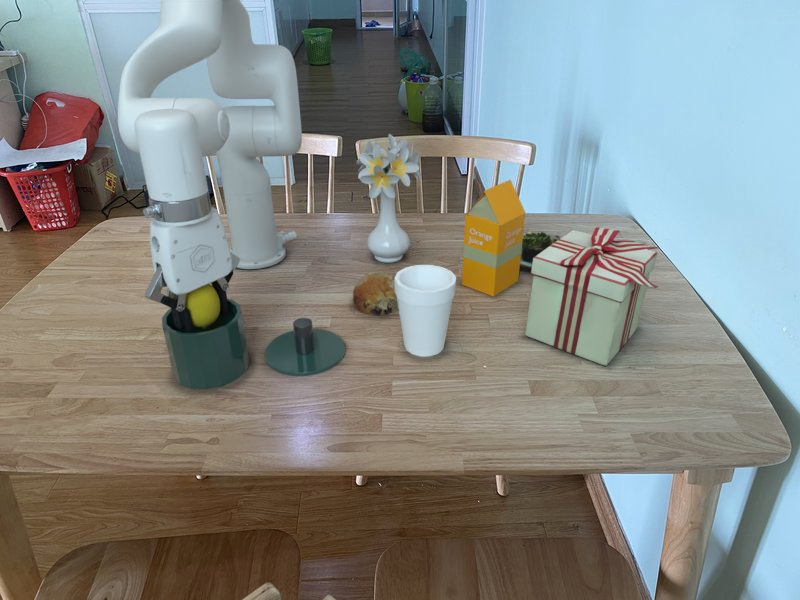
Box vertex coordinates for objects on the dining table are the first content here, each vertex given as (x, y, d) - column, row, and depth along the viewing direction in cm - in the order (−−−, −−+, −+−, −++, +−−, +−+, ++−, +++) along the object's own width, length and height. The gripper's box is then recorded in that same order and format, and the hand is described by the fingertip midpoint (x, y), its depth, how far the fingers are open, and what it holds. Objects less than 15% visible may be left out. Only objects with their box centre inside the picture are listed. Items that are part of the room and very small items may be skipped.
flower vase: (359, 278, 121) (354, 155, 109) (360, 241, 137) (356, 130, 125) (423, 276, 122) (426, 154, 109) (417, 240, 138) (419, 130, 126)
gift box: (633, 376, 92) (656, 275, 83) (520, 341, 101) (530, 246, 92) (658, 327, 104) (680, 235, 96) (556, 299, 113) (568, 212, 105)
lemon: (213, 339, 87) (204, 291, 83) (178, 335, 88) (167, 287, 84) (230, 320, 92) (222, 273, 88) (196, 316, 93) (187, 270, 89)
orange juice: (461, 284, 119) (465, 186, 109) (486, 269, 124) (493, 175, 115) (494, 296, 114) (502, 195, 104) (519, 281, 120) (529, 183, 110)
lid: (315, 326, 105) (312, 295, 102) (361, 356, 97) (360, 323, 94) (250, 354, 98) (245, 321, 95) (294, 389, 89) (290, 355, 86)
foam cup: (412, 371, 93) (412, 297, 87) (385, 342, 100) (384, 272, 94) (464, 354, 97) (467, 283, 91) (434, 328, 104) (436, 260, 98)
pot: (227, 342, 101) (218, 289, 96) (262, 371, 93) (254, 315, 89) (162, 368, 94) (149, 313, 89) (194, 402, 87) (182, 344, 82)
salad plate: (483, 240, 137) (484, 222, 135) (556, 234, 141) (558, 215, 138) (515, 278, 121) (517, 257, 119) (597, 269, 124) (600, 249, 122)
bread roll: (410, 317, 115) (416, 275, 114) (393, 321, 105) (400, 275, 104) (362, 309, 117) (367, 268, 117) (341, 312, 108) (347, 267, 107)
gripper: (138, 232, 73) (167, 356, 82) (250, 194, 85) (264, 306, 94) (106, 218, 77) (136, 337, 86) (216, 184, 89) (233, 292, 98)
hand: (203, 320), depth 90 cm, fingers closed on lemon, 5 cm apart
